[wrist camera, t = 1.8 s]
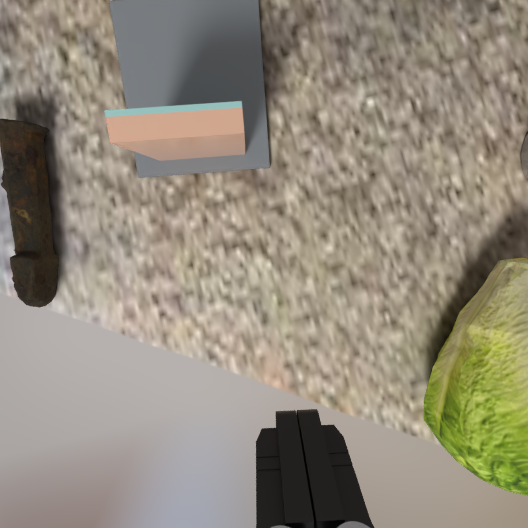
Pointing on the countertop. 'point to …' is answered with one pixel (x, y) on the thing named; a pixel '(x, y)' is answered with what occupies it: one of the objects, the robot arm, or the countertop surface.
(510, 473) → the lettuce
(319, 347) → the countertop surface
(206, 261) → the countertop surface
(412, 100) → the countertop surface
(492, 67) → the countertop surface
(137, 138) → the tile
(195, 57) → the mat
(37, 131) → the hand tool
